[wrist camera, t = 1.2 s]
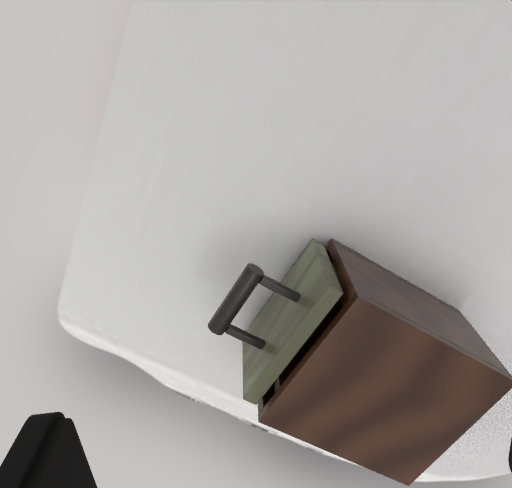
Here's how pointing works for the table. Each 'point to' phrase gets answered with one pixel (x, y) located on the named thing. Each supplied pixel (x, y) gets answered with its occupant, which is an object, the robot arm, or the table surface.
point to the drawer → (282, 318)
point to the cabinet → (387, 376)
